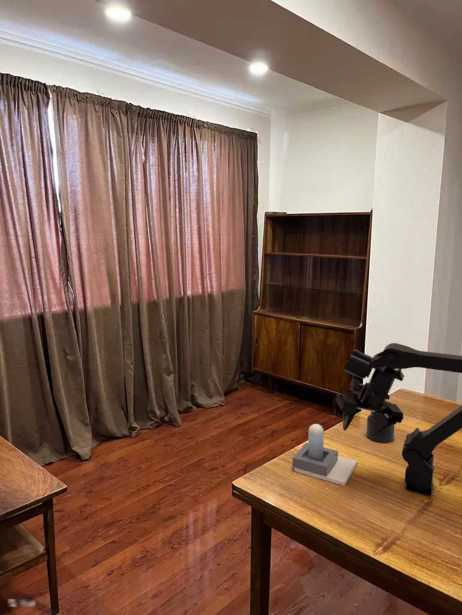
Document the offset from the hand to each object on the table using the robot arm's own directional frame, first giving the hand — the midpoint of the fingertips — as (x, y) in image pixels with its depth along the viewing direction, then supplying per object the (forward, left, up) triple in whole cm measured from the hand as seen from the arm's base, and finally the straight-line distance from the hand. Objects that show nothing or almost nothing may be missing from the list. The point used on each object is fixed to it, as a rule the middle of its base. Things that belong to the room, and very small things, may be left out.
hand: (358, 432), depth 127 cm
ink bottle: (-1, -26, -13) cm, 29 cm away
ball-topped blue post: (+11, +3, -11) cm, 17 cm away
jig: (+9, +2, -13) cm, 15 cm away
